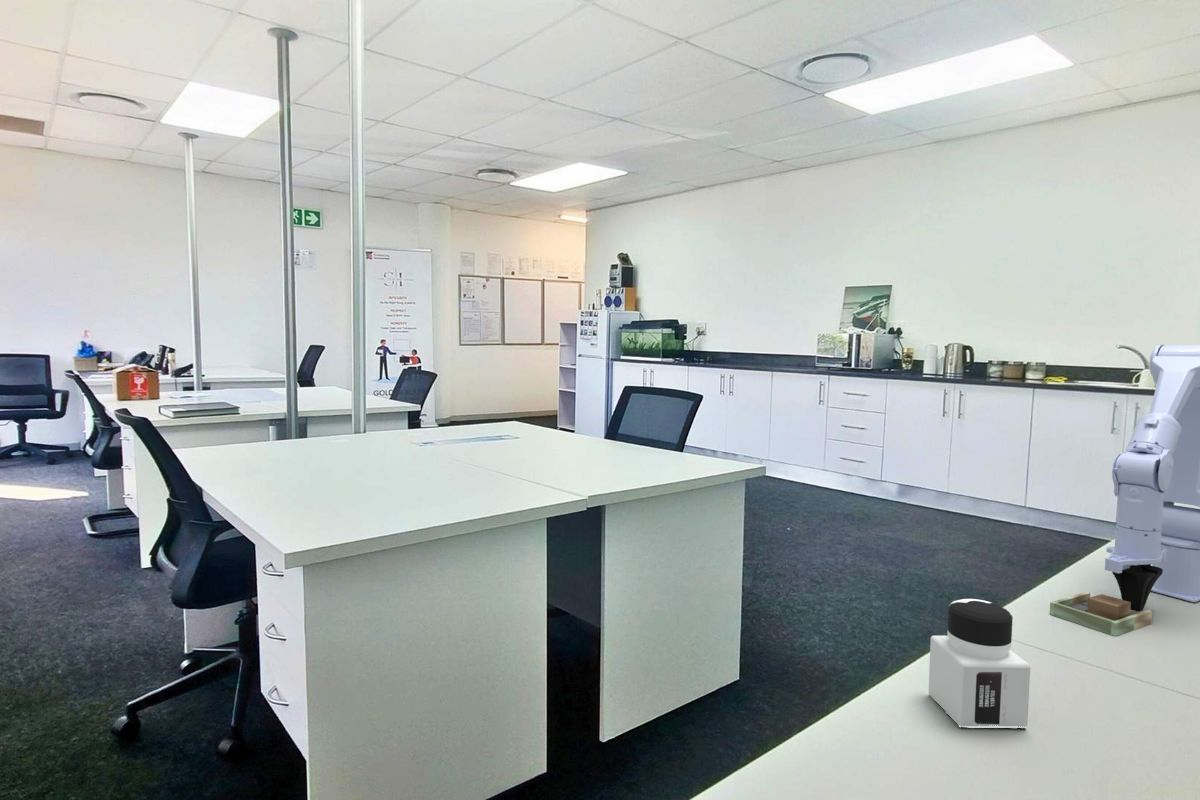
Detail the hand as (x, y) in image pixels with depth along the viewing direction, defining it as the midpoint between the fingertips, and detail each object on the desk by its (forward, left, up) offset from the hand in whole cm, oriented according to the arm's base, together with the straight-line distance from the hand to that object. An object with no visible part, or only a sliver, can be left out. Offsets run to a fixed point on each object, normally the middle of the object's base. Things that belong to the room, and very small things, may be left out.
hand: (1133, 609), depth 108 cm
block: (+8, 0, -1) cm, 8 cm away
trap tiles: (+4, -5, -1) cm, 6 cm away
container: (+51, +7, -1) cm, 51 cm away
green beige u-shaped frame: (+6, -2, -1) cm, 7 cm away
